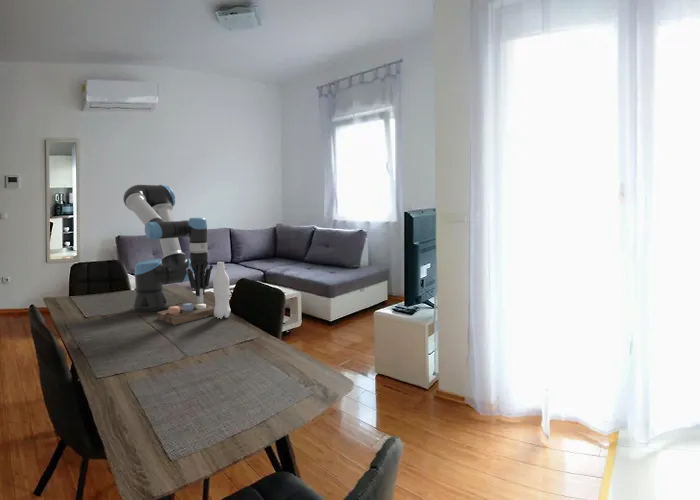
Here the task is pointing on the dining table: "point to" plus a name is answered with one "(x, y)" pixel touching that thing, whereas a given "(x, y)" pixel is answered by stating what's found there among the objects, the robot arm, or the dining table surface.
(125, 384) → the dining table surface
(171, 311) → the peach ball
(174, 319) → the brown wooden tray
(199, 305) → the cream rounded lump
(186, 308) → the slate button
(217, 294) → the water bottle
